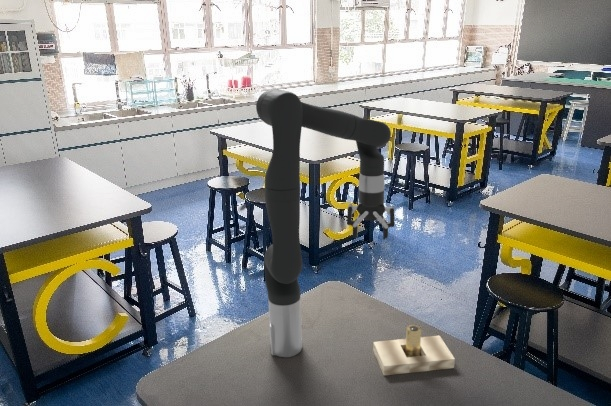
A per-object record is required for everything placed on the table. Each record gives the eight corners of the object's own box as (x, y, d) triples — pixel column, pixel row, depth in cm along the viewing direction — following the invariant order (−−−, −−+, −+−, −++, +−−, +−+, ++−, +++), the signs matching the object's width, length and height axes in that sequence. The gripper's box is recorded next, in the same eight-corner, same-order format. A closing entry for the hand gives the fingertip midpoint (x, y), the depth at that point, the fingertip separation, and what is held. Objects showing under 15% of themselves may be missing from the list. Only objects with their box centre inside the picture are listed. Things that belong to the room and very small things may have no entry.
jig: (383, 375, 132) (384, 366, 131) (373, 350, 143) (373, 341, 142) (454, 367, 135) (454, 358, 134) (438, 343, 145) (439, 335, 144)
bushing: (407, 363, 137) (409, 333, 133) (403, 355, 140) (404, 325, 137) (421, 362, 137) (423, 332, 134) (416, 353, 141) (418, 323, 137)
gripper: (346, 191, 142) (346, 241, 148) (395, 192, 140) (393, 244, 145) (348, 183, 149) (348, 232, 154) (395, 184, 147) (393, 234, 152)
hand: (370, 237), depth 150 cm, fingers open, 8 cm apart
